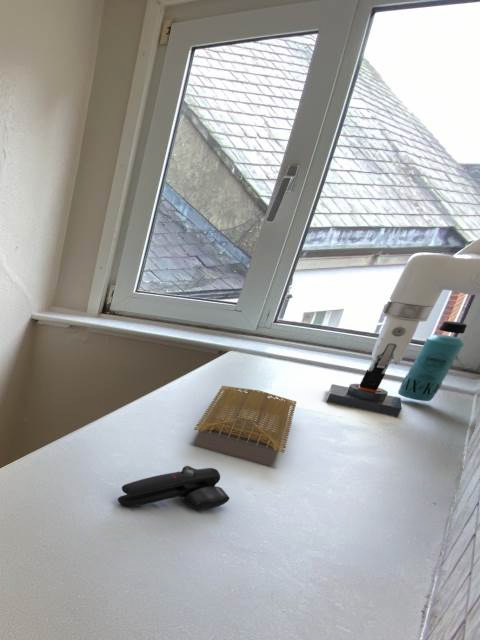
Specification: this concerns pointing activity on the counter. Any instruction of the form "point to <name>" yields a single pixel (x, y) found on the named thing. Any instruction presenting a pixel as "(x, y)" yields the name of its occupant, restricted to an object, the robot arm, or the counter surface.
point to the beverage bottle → (432, 363)
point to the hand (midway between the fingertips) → (368, 387)
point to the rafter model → (246, 424)
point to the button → (368, 389)
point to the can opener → (177, 489)
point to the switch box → (365, 399)
